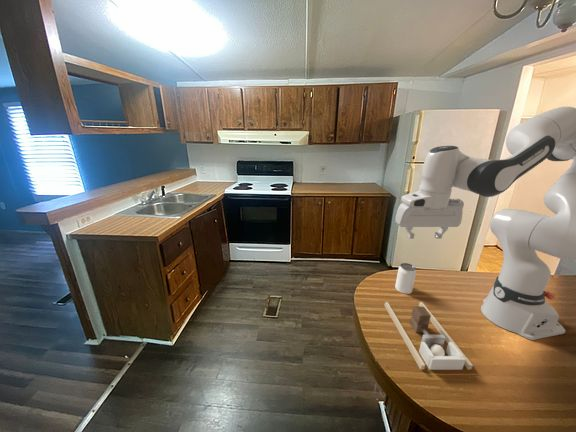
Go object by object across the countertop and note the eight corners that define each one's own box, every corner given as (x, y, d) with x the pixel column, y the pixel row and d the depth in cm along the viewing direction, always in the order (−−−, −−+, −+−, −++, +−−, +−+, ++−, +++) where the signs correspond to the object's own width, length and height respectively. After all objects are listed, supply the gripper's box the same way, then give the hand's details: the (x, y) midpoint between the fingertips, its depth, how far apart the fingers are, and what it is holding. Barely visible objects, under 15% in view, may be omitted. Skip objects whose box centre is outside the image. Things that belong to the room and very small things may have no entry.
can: (413, 297, 93) (419, 272, 89) (396, 295, 94) (401, 270, 90) (409, 287, 99) (414, 263, 95) (393, 285, 100) (397, 261, 96)
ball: (445, 344, 66) (449, 358, 64) (438, 344, 69) (441, 357, 67) (432, 344, 66) (436, 358, 64) (426, 344, 69) (429, 357, 67)
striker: (423, 322, 79) (427, 306, 76) (442, 349, 69) (447, 331, 67) (406, 323, 79) (409, 306, 76) (422, 349, 69) (427, 331, 67)
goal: (448, 352, 68) (452, 341, 67) (462, 369, 63) (465, 359, 62) (418, 352, 68) (421, 342, 67) (429, 370, 63) (432, 359, 62)
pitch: (420, 308, 87) (422, 301, 86) (469, 373, 64) (472, 365, 62) (383, 308, 87) (385, 302, 86) (419, 373, 63) (421, 365, 62)
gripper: (458, 196, 76) (448, 234, 81) (396, 196, 76) (390, 234, 81) (472, 201, 70) (460, 242, 75) (406, 201, 70) (398, 242, 75)
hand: (423, 237), depth 78 cm, fingers open, 8 cm apart
